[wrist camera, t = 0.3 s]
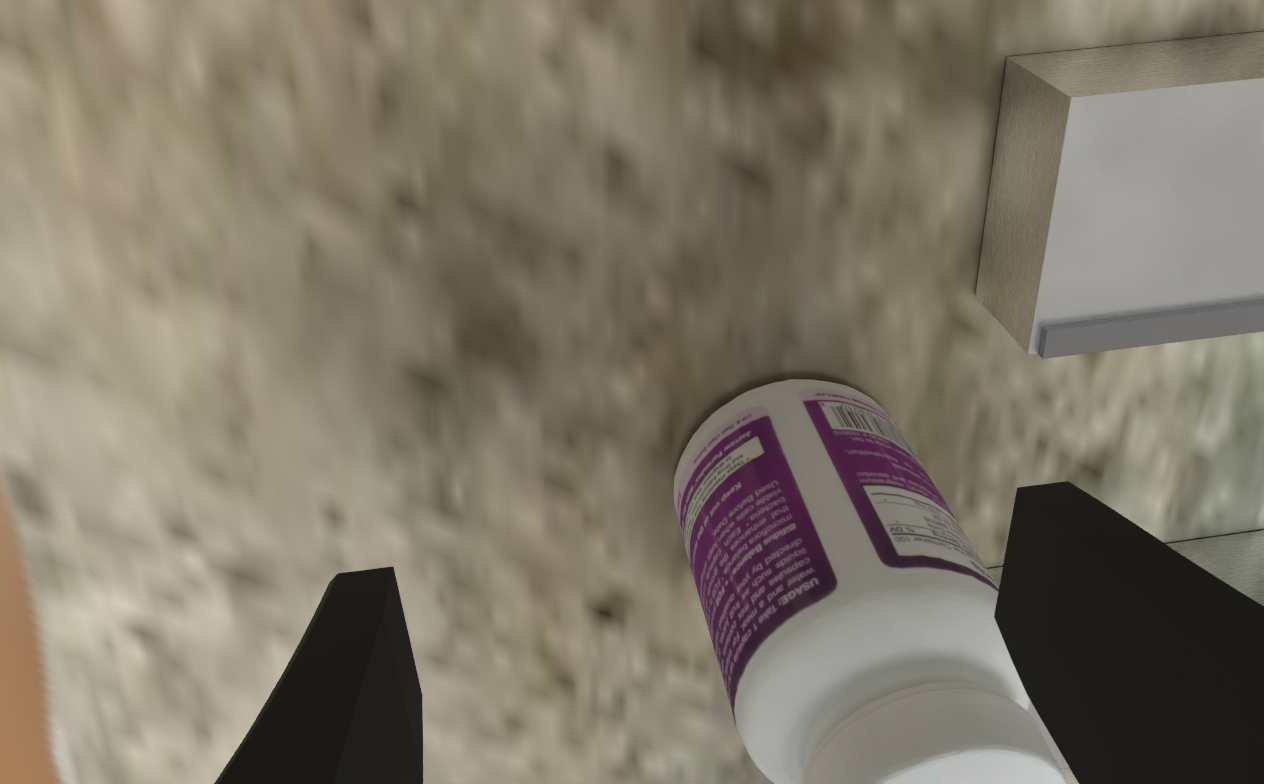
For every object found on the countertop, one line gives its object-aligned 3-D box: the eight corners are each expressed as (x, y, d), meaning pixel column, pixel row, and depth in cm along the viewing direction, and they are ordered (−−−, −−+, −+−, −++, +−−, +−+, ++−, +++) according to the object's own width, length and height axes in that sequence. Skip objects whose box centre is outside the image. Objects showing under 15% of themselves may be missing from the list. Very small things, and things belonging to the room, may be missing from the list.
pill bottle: (708, 585, 26) (820, 977, 18) (638, 421, 23) (734, 799, 15) (919, 511, 26) (1129, 876, 18) (874, 334, 23) (1101, 675, 15)
